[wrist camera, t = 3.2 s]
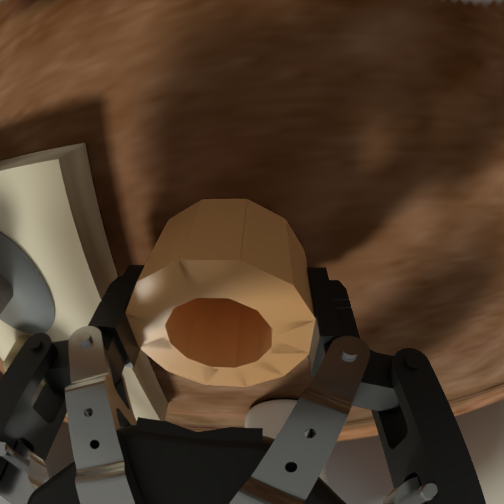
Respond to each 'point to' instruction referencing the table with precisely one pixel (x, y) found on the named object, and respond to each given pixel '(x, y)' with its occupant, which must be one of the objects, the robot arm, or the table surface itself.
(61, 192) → the gear board
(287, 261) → the gear
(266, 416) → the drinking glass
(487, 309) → the table surface
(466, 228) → the table surface
